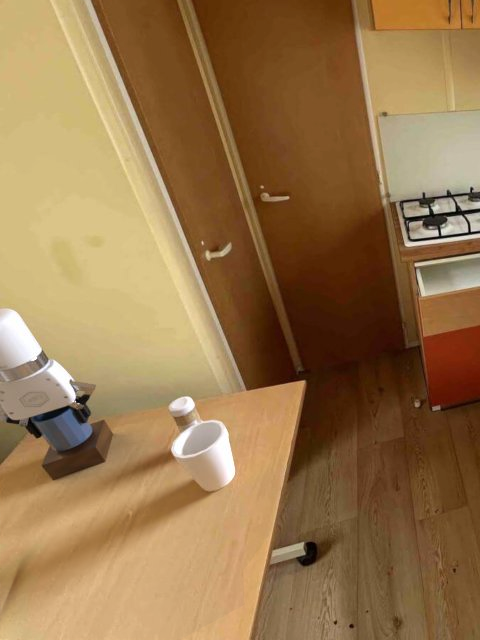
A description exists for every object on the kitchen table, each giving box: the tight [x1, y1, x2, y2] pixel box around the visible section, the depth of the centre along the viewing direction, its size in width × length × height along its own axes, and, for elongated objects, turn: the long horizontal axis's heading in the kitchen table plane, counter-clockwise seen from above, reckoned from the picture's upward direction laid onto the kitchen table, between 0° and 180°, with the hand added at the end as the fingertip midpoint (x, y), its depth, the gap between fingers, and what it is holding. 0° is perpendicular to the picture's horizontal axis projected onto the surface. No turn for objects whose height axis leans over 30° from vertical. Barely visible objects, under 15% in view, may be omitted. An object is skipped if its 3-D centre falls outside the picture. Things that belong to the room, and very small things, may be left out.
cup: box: [31, 406, 93, 451], centre depth 94 cm, size 7×7×9 cm
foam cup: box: [170, 419, 236, 493], centre depth 91 cm, size 10×9×13 cm
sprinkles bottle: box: [167, 396, 204, 434], centre depth 99 cm, size 5×5×14 cm
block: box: [40, 419, 114, 481], centre depth 97 cm, size 9×9×5 cm
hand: (64, 425), depth 94 cm, fingers closed on cup, 6 cm apart
